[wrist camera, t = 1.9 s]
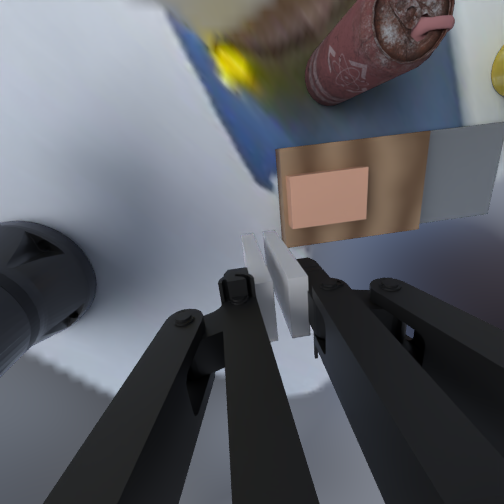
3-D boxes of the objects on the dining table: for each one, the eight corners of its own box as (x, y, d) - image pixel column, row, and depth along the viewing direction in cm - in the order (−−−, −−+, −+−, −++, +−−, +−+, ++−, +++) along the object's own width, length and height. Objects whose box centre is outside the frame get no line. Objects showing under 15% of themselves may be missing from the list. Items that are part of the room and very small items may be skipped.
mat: (406, 224, 37) (408, 225, 36) (415, 132, 32) (417, 132, 32) (484, 213, 37) (487, 213, 37) (504, 121, 33) (507, 121, 33)
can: (355, 105, 31) (453, 67, 18) (302, 107, 30) (364, 69, 17) (360, 43, 29) (476, -53, 15) (304, 44, 28) (375, -55, 15)
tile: (288, 225, 32) (292, 229, 30) (285, 175, 30) (289, 176, 28) (358, 215, 33) (366, 219, 31) (359, 166, 31) (368, 166, 29)
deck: (282, 242, 36) (286, 248, 33) (275, 149, 31) (279, 148, 29) (406, 224, 37) (418, 229, 34) (415, 132, 32) (430, 130, 30)
